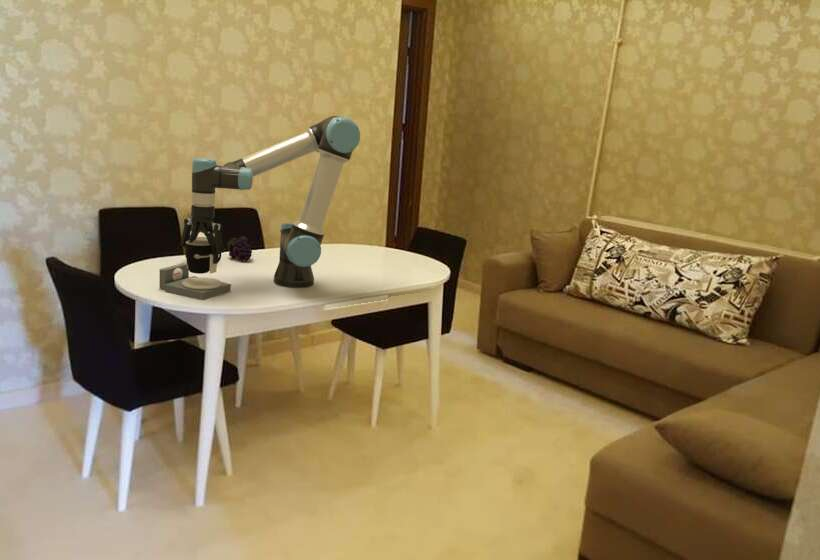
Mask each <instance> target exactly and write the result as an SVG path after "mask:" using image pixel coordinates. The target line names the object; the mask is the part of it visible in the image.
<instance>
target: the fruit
mask: <svg viewBox="0 0 820 560" xmlns="http://www.w3.org/2000/svg"><path fill="white" fill-rule="evenodd" d="M248 239H249V238H247V236H246V235H244V236H243V235H240V237H231V238H230V240H229V241H228V242H226V245H227V246H226V247H228V249H227V251H228V256H229V257H231V259H237V260H238V261H240V262H248V260H249V259H251V257H252V253H253V250H252V248H251V245H250V244H248V243H249V242H248V241H249V240H248Z"/></svg>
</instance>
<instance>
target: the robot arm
mask: <svg viewBox="0 0 820 560" xmlns="http://www.w3.org/2000/svg"><path fill="white" fill-rule="evenodd" d="M360 142H361V131H360V129H359V126H358V125H357V123H356V122H355V121H353V119H350V118H349V117H345V116H338V115H333V116H329V117H327V118H325V119H323V120H322V121H319V122H317V123H315V124H313V125H311V126H308V127H307V128H306V131H304V132H302V133H300V134H299V133H298V134H297V135H295V136H292V137H290V138H287V139H285V140H282V141H280V142H278V143H275V144H272V145H270V146H267V147H265V148H263V149H260V150H258V151H256V152H253V153H251V154H248V155H246V156H244V157H242V158H239V159H237V160H234V161H229V162H227V163H224V164H223V165H218V164H217V161H216V160H215V159H214V158H208V157H207V158H206V157H196V158H194V159H192V166H191V167H192V169H191V208H190V209H191V210H190V212H191V213H190V215H191V217H190V218H184V220H183V224H184V225H183V230H182V235H181V240H180V243H179V244H180V245H179V246H181V247H183V248H184V249H185V256H184V257H185V258H186V241H190V243H191V242H193V241H194V240H196V238H197V236H198V234H199V233H200V232H202V233H204V235H205V236H206V237H207V240H208V243H209V244H210V245H211V251H212V254H210V270H209V274H214V273H217V270H218V269H217V266H218V265H217V264H219V262H218V260H219V254H220V253H221V254H223V253H225V247H224V241H223V235H222V227H223V226H222V224H221V223H216V222H215V221H214V219H215V214H216V213H215V210H216V207H215V206H214V205H215V204H216V189H225V190H226V189H227V190H228V189H229V190H240V191H244V190H245V191H246V190H247V191H248V190H249V191H250V190H251V189H252V188H253V179H254V177H255V176H258V175H260V174H263V173H265V172H268V171H271V170H273V169H275V168H277V167H281V166H282V165H284V164H287V163H290V162H293V161H294V160H297V159H299V158H303V157H304V156H306V155H308V154H311V153H313V152H315V153H319V155H320V156H319V158H318V162H317V165H316V168H315V170H314V174H313V177H312V180H311V183H310V185H309V188H308V192H307V194H306V198H305V200H304V203H303V205H302V209H301V212H300V216H299V218H298V220H297V221H294V222H283V223H282V224H281V225H280V231H279V232H280V243H279V261H278V265H277V267H276V269H275V273H274V276H273V283H274V284H275V285H278V286H280V287H287V288H296V289H297V288H308V287H311V286H313V285H315V277H314V276H315V275H314V273H313V268H312V265H315V264H316V263H317V262H318V261H319V259H320V257H321V255H322V247H321V245H322V242H323V239H324V238H325V237H324V236H325V231H324V229H323V226H324V223H325V219H326V217H327V213H328V211H329V208H330V205H331V202H332V199H333V197H334V194H335V190H336V187H337V185H338V181H339V179H340V176H341V173H342V170H343V168H344V165H345V164H346V163H348V162H350V160H351V158H352V154H353V152H354V150H355V149H356V148H357V147H358V145H359V143H360ZM190 232H191V234H190ZM208 232H209V233H208ZM213 234H214V235H213ZM187 268H188V266H187Z"/></svg>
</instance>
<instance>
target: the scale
mask: <svg viewBox="0 0 820 560" xmlns="http://www.w3.org/2000/svg"><path fill="white" fill-rule="evenodd" d="M189 274H190V271H189V269H188V268H187V263H179V264H176V265H171V266H167V267H163V268H159V290H163V291H164V292H165V293H170V294H173V295H178V296H183V297H188V298H192V299H195V298H196V300H200V299H201V301H204V300H205V301H206V300H208V299H211V298H213V297H216V296H219V295H223V294H226V293H229V292H231V283H227V282H223V281H221V280H220V279H216V278H214V277H213V278H212V277H204V276H203V277H201V276H200V277H199V276H196V275H195V276H193V275H192V276H190V275H189Z"/></svg>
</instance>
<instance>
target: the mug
mask: <svg viewBox="0 0 820 560" xmlns="http://www.w3.org/2000/svg"><path fill="white" fill-rule="evenodd" d="M185 251H186V253H185V254H186V257H185V258H186V260H185V261H186V264H187V266H188V269H189V273H192V274H203V275H204V274H207V273H210V254H212V251H211V245H210V244H209V243H208V241H206V240H194V241H193V242H191V243H190V241H186V249H185ZM221 259H222V253H220V254H219V260H218V263H219V262H220V261H221Z"/></svg>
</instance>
